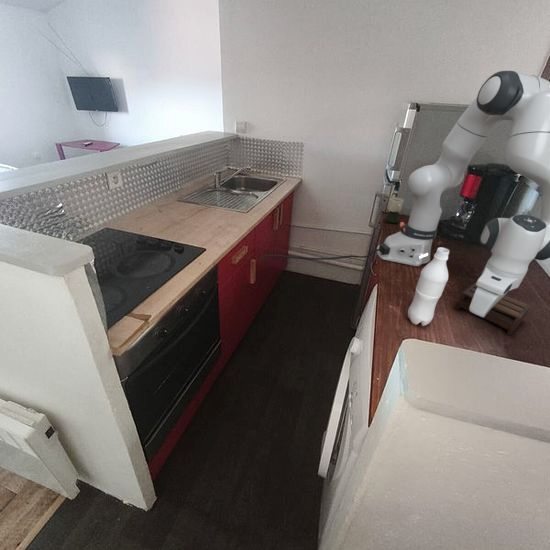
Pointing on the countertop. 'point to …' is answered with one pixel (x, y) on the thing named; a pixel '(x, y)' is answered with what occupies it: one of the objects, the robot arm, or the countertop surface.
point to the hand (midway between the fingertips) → (482, 314)
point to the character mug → (394, 209)
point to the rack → (498, 310)
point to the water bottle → (429, 288)
